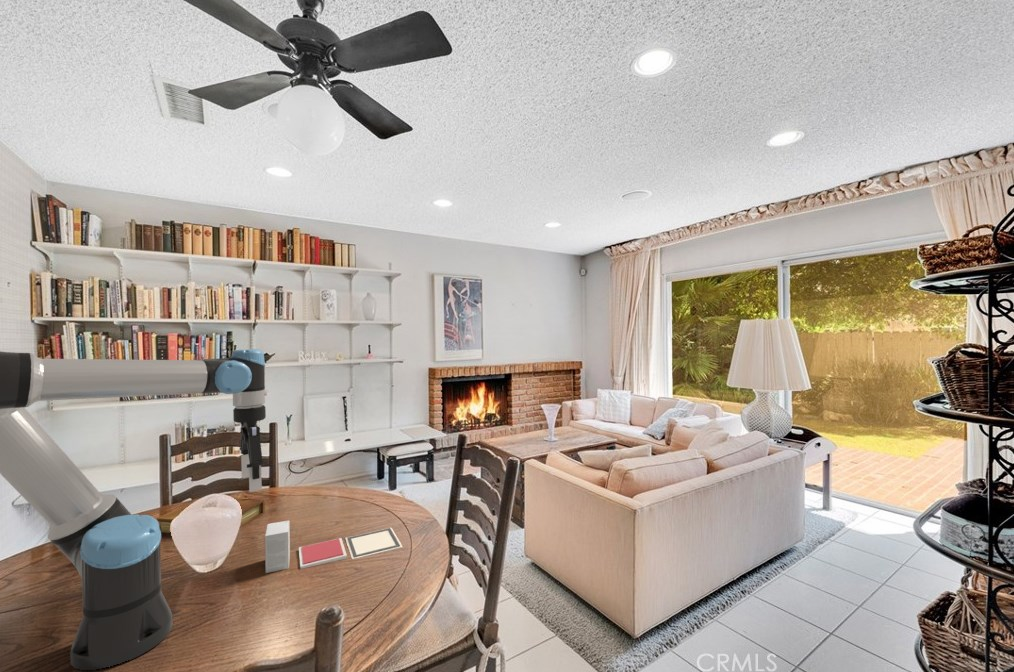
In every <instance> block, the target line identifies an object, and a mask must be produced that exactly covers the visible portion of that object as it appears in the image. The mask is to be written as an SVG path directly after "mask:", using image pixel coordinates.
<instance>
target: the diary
mask: <svg viewBox="0 0 1014 672" xmlns="http://www.w3.org/2000/svg"><path fill="white" fill-rule="evenodd" d="M233 498H234V497H233ZM234 499H236V500H237V501H238V502H239V503H240V506H241V509H242V524H241V527H240V528H242V527H244V526H246V525H247V524H249V523H251V522H253V521H254V520H257V519H259V518H260V517H262V516H264V515H265V512H266V508H265V507H266V506H265V505H266V501H265V500H264V499H257V498H256V499H255V498H240V497H239V498H237V497H235V498H234ZM191 503H192V502H191ZM191 503H189V504H186V505H183V506H182V507H179V508H177V509H175V510H173V511H170V512H168V513H165V514H163V515H161V516H159V517H157V518H156V520H157V521H158V522H160V531H161V533H169V534H171V533H170V531H169V529H170V523H171V521H172V520H173V519H174V518H175V517H176V516H177V515H178V514H179V513H180V512H181V511H183V510H184V509H185V508H186V507H188V506H189V505H190V504H191Z"/></svg>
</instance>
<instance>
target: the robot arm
mask: <svg viewBox="0 0 1014 672" xmlns="http://www.w3.org/2000/svg"><path fill="white" fill-rule="evenodd" d="M265 367H266V363H265V355H264V352H263V350H261V349H258V348H255V349H254V348H253V349H250V348H249V349H235V350H232V352H231V357H226V358H225V357H224V358H222V357H221V358H198V359H196V358H194V359H188V360H187V359H186V360H185V359H117V358H116V359H113V358H111V359H106V358H105V359H104V358H100V359H99V358H96V359H95V358H85V359H84V358H40V357H38V356H36V355H35V354H34V353H32V352H11V351H1V350H0V475H1V476H2V477H3V478H4V479H5V481H7V482H8V484H9V485H10V486H12V488H13V489H14V490H15V491H16V492H17V493H18V494H19V495H20V496H22V497H23V499H24V500H25V501H26V502H28V504H29V505H30V506H31V507H32V508H33V509H34V511H36V512H37V513H38V514H39V515H40V516H41V517H42V518H43V519H44V520H45V521H46V522H47V523H48V524H49V525H50V528H49V531H48V533H47V538H48V540H49V541H50V542H52V544H53V545H54V546H55V547H56V548H57V549H58V550H59V551H60V552H61V553H62V554H63V555H64V556H65V557H66V558H67V559H68V560H69V561H70V562H71V563H72V564H73V566H74V567H75V569H76V571H77V572H78V574H79V576H80V577H81V587H82V588H81V589H82V590H81V593H82V616H81V617H82V618H81V621H80V622H79V623H80V624H79V626H78V628H77V630H76V631H77V632H76V634H75V637H74V640H73V642H72V645H71V647H70V665H71V667H72V666H73V667H74V668H73V667H72V668H73V669H75V668H76V669H75V670H77V669H80V670H79V671H82V670H93V671H97V670H96V669H100V670H103V669H102V668H105V669H107V668H106V667H109V666H112V667H114V666H113V665H116V664H119V665H120V663H121V664H123V663H122V662H124V663H126V662H125V661H127V662H128V660H129V661H131V660H133V659H136V658H137V657H140V656H141V655H143V654H145V653H147V652H149V651H150V650H152V649H153V648H154V647H156V646H157V645H159V644H160V643H161V642H162V641H163V640H165V639H166V637H168V635H169V634H170V632H171V631H172V629H173V625H174V624H173V623H174V622H173V613H172V611H171V608H170V606H169V604H168V602H167V600H166V598H165V596H164V594H163V592H162V570H161V569H162V567H161V565H162V563H161V555H162V554H161V540H162V532H161V527H160V523H159V521H157V518H155V517H153V516H151V515H147V514H141V515H139V514H133V513H131V512H130V511H129V510H128V508H127V507H126V506H125V505H124V504H123V503H122V502H121V501H120V500H119V499H118V497H117V496H116V495H114V494H112V493H111V494H109V493H108V494H101V492H100V491H99V490H98V489H97V488H96V487H95V485H94V484H93V483H92V482H91V481H90V480H89V479H88V477H87V476H86V475H85V474H84V473H83V471H81V470H80V468H78V466H77V465H76V464H75V463H74V462H73V460H71V458H70V457H69V456H68V455H67V454H66V453H65V452H64V450H63V449H62V448H61V447H60V446H59V444H58V443H57V442H56V441H55V440H54V439H53V438H52V437H51V436H50V435H49V434H48V432H47V431H46V430H45V429H44V428H43V426H41V424H40V423H39V422H38V421H37V420H36V419H35V418H34V417H33V416H32V414H31V413H30V412H29V411H28V409H26V408H29V407H30V406H32V405H33V404H35V403H36V402H40V401H41V402H42V401H43V402H44V401H47V402H48V401H66V400H67V401H68V400H83V399H87V400H88V399H108V398H130V397H132V398H133V397H149V396H151V397H153V396H171V395H190V394H191V395H193V394H196V395H197V394H220V393H221V394H222V393H223V394H226V395H231V394H232V406H234V409H233V410H232V411H233V418H232V419H233V422H234V423H237V424H238V423H239V424H240V443H239V445H240V446H239V450H240V454H241V455H240V456H241V457H240V459H241V462H240V466H241V479H247V478H248V489H249V490H248V492H249V493H253V492H257V491H262V490H263V489H262V488H263V485H262V483H263V482H262V480H263V479H262V465H263V464H264V461H263V455H262V454H263V453H262V443H261V432H260V431H261V428H260V426H258V424H257V422H260V421H263V420H265V419H266V418H267V417H266V416H267V415H266V406H265V405H264V404H265V403H266V398H265V397H266V396H268V392H266V389H265V388H266V385H265V383H266V382H265V381H266V380H265V377H266V376H265V375H266V373H265V370H266V369H265ZM116 666H117V665H116ZM109 668H110V667H109Z"/></svg>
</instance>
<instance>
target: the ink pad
mask: <svg viewBox="0 0 1014 672" xmlns="http://www.w3.org/2000/svg"><path fill="white" fill-rule="evenodd" d="M298 555H299V558H298V559H299V568H300V570H301V569H307V568H310V567H311V568H312V567H315V566H319V565H324V564H329V563H333V562H338V561H342V560H346V559H348V555H347V551H346V548H345V545H344V541H343V539H342V537H339V538H335V539H331V540H326V541H321V542H317V543H312V544H308V545H304V546H298Z"/></svg>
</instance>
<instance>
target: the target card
mask: <svg viewBox="0 0 1014 672" xmlns="http://www.w3.org/2000/svg"><path fill="white" fill-rule="evenodd" d="M344 538H345V539H344V540H345V543H346V545H347V548H348V551H349V555H350V558H351V560H357V559H360V558H365V557H369V556H373V555H378V554H382V553H387V552H391V551H396V550H399V549H403V547H404V546H403V545H402V543H401V541H400V539H399V538H398V536H397V535H396V533H395V531H394V529H393V528H392V527H388V528H383V529H378V530H374V531H370V532H369V531H368V532H366V533H361V534H357V535H353V536H352V535H351V536H348V537H344Z"/></svg>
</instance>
